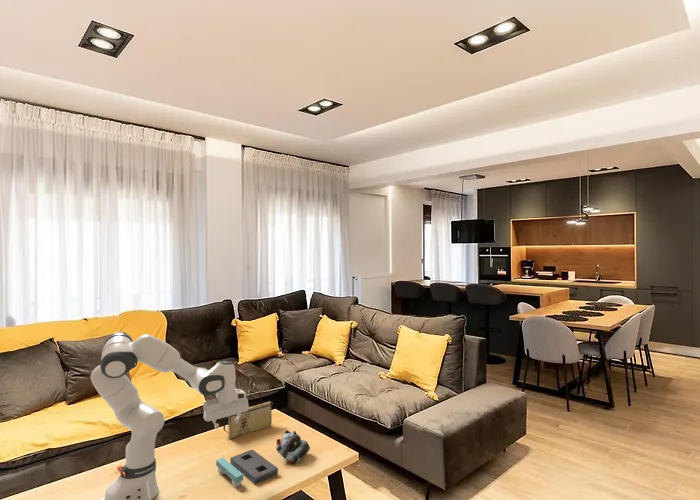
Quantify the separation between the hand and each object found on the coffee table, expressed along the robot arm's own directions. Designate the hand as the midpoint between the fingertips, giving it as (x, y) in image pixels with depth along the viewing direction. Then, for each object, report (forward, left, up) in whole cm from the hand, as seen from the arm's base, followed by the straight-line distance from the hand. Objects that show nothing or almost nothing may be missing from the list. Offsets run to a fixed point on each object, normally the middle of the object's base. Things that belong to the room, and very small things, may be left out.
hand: (226, 425), depth 188 cm
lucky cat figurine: (+32, -7, -24) cm, 41 cm away
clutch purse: (+30, +35, -24) cm, 52 cm away
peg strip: (0, -2, -24) cm, 24 cm away
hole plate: (+12, -3, -24) cm, 27 cm away
